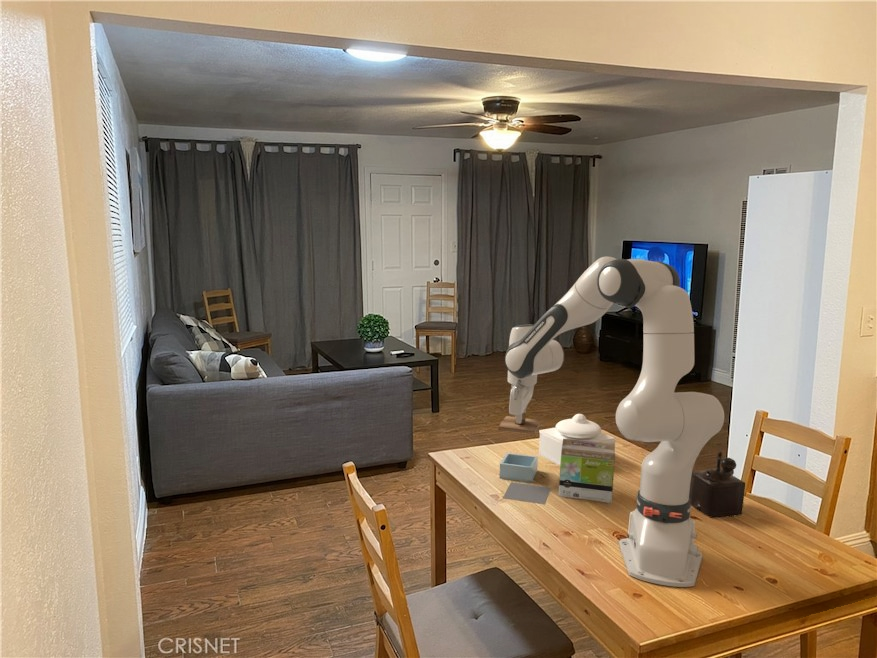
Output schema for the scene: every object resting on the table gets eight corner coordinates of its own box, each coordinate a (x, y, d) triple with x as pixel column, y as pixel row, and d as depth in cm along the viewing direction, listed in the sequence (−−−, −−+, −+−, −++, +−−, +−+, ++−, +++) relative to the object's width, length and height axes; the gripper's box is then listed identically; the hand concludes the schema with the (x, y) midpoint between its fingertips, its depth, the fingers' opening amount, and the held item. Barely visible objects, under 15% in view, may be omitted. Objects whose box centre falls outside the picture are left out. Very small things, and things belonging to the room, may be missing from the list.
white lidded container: (572, 473, 199) (574, 425, 196) (537, 455, 215) (539, 410, 212) (614, 464, 207) (616, 417, 205) (577, 447, 223) (580, 403, 220)
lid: (534, 434, 186) (535, 421, 185) (498, 429, 189) (498, 417, 188) (540, 423, 196) (541, 410, 195) (505, 419, 200) (506, 406, 199)
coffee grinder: (684, 502, 178) (689, 441, 175) (717, 498, 181) (723, 439, 178) (720, 527, 163) (726, 461, 161) (757, 523, 166) (763, 458, 163)
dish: (531, 483, 190) (532, 467, 189) (499, 479, 193) (499, 463, 192) (537, 471, 199) (537, 456, 199) (506, 467, 202) (506, 452, 202)
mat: (544, 505, 175) (544, 504, 175) (502, 499, 179) (502, 498, 179) (550, 488, 186) (550, 487, 186) (510, 483, 190) (510, 482, 190)
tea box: (558, 498, 180) (560, 448, 178) (559, 484, 190) (562, 437, 187) (612, 504, 177) (615, 453, 174) (611, 489, 186) (614, 442, 184)
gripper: (526, 386, 179) (524, 432, 182) (538, 370, 198) (536, 412, 201) (504, 384, 181) (503, 429, 184) (518, 368, 200) (516, 410, 203)
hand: (520, 420), depth 192 cm, fingers closed on lid, 3 cm apart
